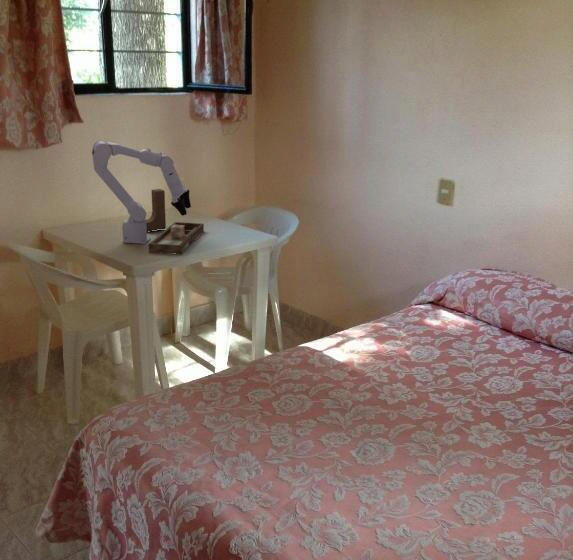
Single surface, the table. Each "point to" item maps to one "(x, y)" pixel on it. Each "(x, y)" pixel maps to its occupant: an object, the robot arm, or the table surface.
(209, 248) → the table surface
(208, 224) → the table surface
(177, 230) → the maple block
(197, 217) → the table surface
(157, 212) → the wooden block
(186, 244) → the track
